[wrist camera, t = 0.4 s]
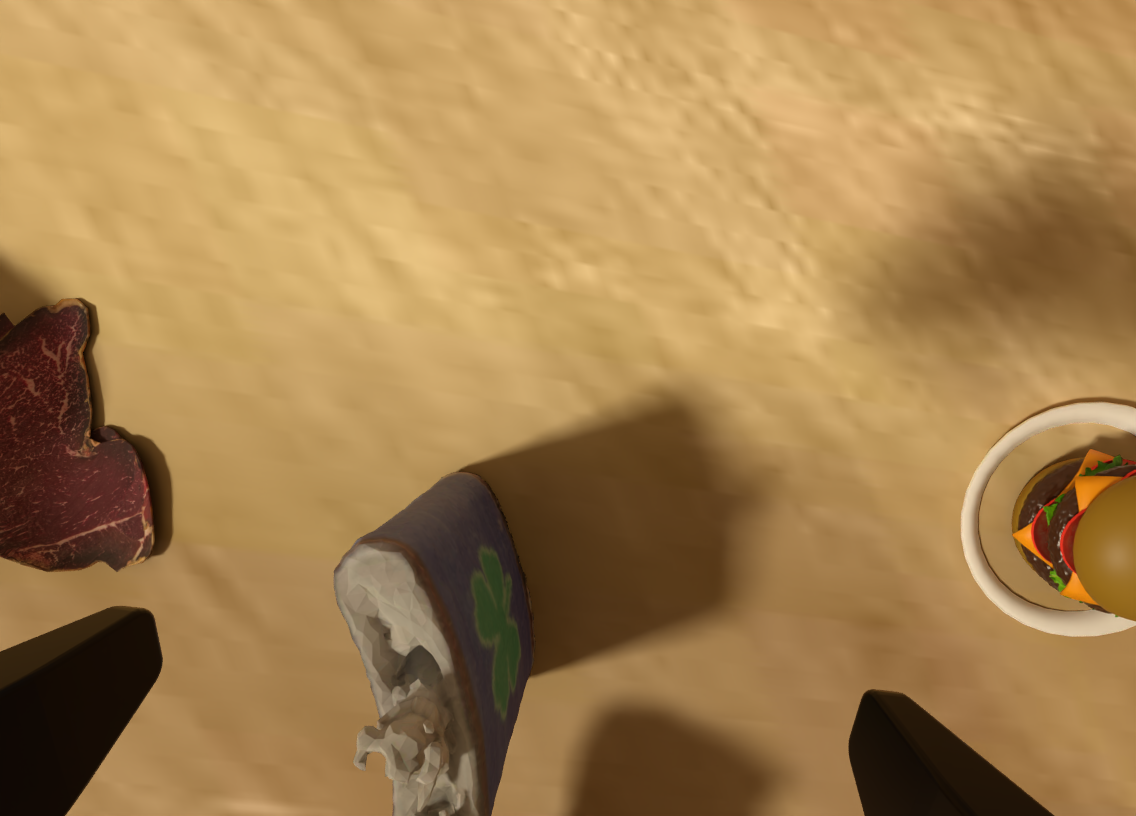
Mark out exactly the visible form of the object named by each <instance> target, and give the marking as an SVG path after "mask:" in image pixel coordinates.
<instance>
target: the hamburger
mask: <svg viewBox="0 0 1136 816" xmlns="http://www.w3.org/2000/svg"><path fill="white" fill-rule="evenodd" d="M1072 423H1098V424H1105V425H1111V426H1113V427H1116V428H1119V429H1122V430H1125V431H1128V432H1130V433H1131V434H1133V435H1135V436H1136V408H1134V407H1131V406H1128V405H1122V404H1116V403H1109V402H1081V403H1073V404H1069V405H1065V406H1060V407H1056V408H1052V409H1049V410H1047V411H1045V412H1042V413H1040V414H1038V415H1035V416H1033V417H1031V418H1029V419H1027V420H1026V421H1024V422H1023V423H1021V424H1019V425H1018V426H1016V427H1015V428H1013V429H1012V430H1010V431H1009V432H1007V433H1006V434H1005V435H1004V436H1003V437H1002V438H1001V439H1000V440H999V441H998V442H997V443H996V444H995V445H994V446H993V447H992V448H991V449H990V450H989V451H988V453H987V454H986V456H985V457H984V459H983V460H982V461H981V463H980V464H979V466H978V467H977V469H976V470H975V472H974V475H973V477H972V479H971V481H970V484H969V486H968V488H967V490H966V494H965V498H964V503H963V508H962V512H961V540H962V545H963V550H964V555H965V559H966V561H967V564H968V566H969V568H970V570H971V573H972V575H973V577H974V579H975V581H976V582H977V584H978V585H979V586H980V588H981V589H982V590H983V592H984V593H985V595H986V596H987V597H988V598H989V599H990V600H991V601H992V602H993V603H994V604H995V605H996V606H997V607H999V608H1000V609H1001V610H1002V611H1003V612H1004V613H1006V614H1007V615H1009V616H1011V617H1012V618H1014V619H1016V620H1017V621H1019V622H1021V623H1022V624H1024V625H1027V626H1029V627H1032V628H1035V629H1038V630H1040V631H1043V632H1046V633H1052V634H1058V635H1064V636H1099V635H1104V634H1109V633H1115V632H1120V631H1123V630H1125V629H1128V628H1131V627H1133V626H1136V462H1134V461H1130V460H1126V459H1122V458H1121V456H1120V455H1118V456H1116V457H1112V456H1110V455H1108V454H1105V453H1102V452H1099V451H1096V450H1092V449H1090V450H1089V452H1088V453H1087V455H1086V457H1082V458H1075V459H1069V460H1065V461H1062V462H1059V463H1056V464H1053V465H1052V466H1050V467H1048V468H1046V469H1044V470H1042V471H1041V472H1040V473H1038V474H1037V475H1036V476H1035V477H1033V478H1032V479H1031V480H1030V481H1029V483H1028V484H1027V485H1026V486H1025V487H1024V488H1023V490H1022V491H1021V493H1020V495H1019V497H1018V498H1017V501H1016V504H1015V507H1014V510H1013V516H1012V532H1013V534H1012V536H1013V537H1014V541H1015V544H1016V547H1017V548H1018V550H1019V552H1020V554H1021V555H1022V557H1023V559H1024V560H1025V561H1026V562H1027V563H1028V565H1029V566H1030V567H1031V568H1032V569H1033V570H1034V571H1035V572H1037V573H1038V575H1039V576H1040V577H1042V578H1043V579H1044V580H1045V581H1047V582H1048V583H1049V585H1050V586H1052V587H1053V588H1055V589H1056V590H1058V591H1059V592H1060V595H1063V596H1065V597H1067V598H1071V599H1075V600H1079V603H1085V604H1086V605H1088V606H1089V607H1091V608H1093V609H1092V610H1087V611H1059V610H1053V609H1047V608H1043V607H1040V606H1037V605H1035V604H1032V603H1029V602H1027V601H1025V600H1023V599H1022V598H1020V597H1018V596H1017V595H1015V594H1013V593H1012V592H1011V591H1010V590H1009V589H1008V588H1007V587H1006V586H1005V585H1003V584H1002V583H1001V582H1000V581H999V580H998V578H997V577H996V575H995V574H994V573H993V571H992V570H991V568H990V567H989V566H988V563H987V561H986V559H985V556H984V554H983V552H982V549H981V545H980V540H979V535H978V511H979V507H980V502H981V498H982V494H983V492H984V490H985V487H986V485H987V483H988V481H989V478H990V477H991V475H992V474H993V472H994V471H995V470H996V468H997V467H998V465H999V464H1000V462H1001V461H1002V460H1003V459H1004V458H1005V457H1006V456H1007V455H1008V454H1009V453H1010V452H1011V451H1012V450H1014V449H1015V448H1016V447H1017V446H1019V445H1020V444H1022V443H1023V442H1025V441H1026V440H1028V439H1029V438H1031V437H1032V436H1034V435H1036V434H1039V433H1041V432H1044V431H1046V430H1048V429H1051V428H1054V427H1058V426H1063V425H1067V424H1072Z"/></svg>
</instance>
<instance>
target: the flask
mask: <svg viewBox="0 0 1136 816" xmlns="http://www.w3.org/2000/svg"><path fill="white" fill-rule="evenodd" d="M500 507H501V506H500V504H499V502H498V499H497V498H496V497H495V494H494V493H493V492H492V490H491V488H490V486H488V484H487V483H486V481H483V480H482V478H481V477H480V476H478V475H475V474H472V473H468V472H455V473H450V474H448V475H446V476H444V477H442V478H441V479H440V480H439V481H438V482H437V483H436V484H435V485H434V486H433V487H431V488H430V489H429V490H428V491H426V492H425V493H423V494H422V495H420V496H419V497H418V498H416V499H415V500H414V501H413V502H412V503H411V504H409V505H408V506H407V507H406V508H405V509H404V510H402V511H401V512H399V513H398V514H397V515H395V516H394V517H393V518H391V519H390V520H389V521H387V522H386V523H385V524H383V525H382V526H380V527H379V528H378V529H376V530H375V531H373V532H370V533H368V534H366V535H365V536H363V537H361V538H359V539H357V541H356V542H355V543H354V545H353V546H352V548H351V549H350V550H349V551H348V552H347V553H346V554H345V555H344V556H343V557H342V559H341V561H340V563H339V564H338V566H337V567H336V568H335V570H334V590H335V595H336V600H337V604H338V607H339V609H340V611H341V613H342V615H343V617H344V618H345V620H346V622H347V624H348V626H349V630H350V633H351V636H352V639H353V641H354V643H355V644H356V646H357V648H358V649H359V651H360V654H361V658H362V660H363V663H364V666H365V668H366V674H367V677H368V679H369V681H370V682H371V690H372V692H373V695H374V697H375V701H376V705H377V709H378V713H379V717H380V719H379V720H378V721H377V729H376V728H375V727H373V726H365V727H364V728H363V729H362V730H361V731H360V732H359V733H358V737H357V752H356V755H355V758H354V761H353V763H354V764H355V766H356V767H358V768H359V769H360V770H364V771H366V769H365V767H366V760H367V754H369V753H371V752H373V751H374V752H379V753H381V754H382V755H383V756H384V757H385V758H386V766H385V777H386V776H388V777H389V779H393V816H491V814H492V810H493V806H494V800H495V796H496V793H497V789H498V786H499V783H500V780H501V776H502V771H503V766H504V761H505V757H506V753H507V749H508V746H509V741H510V739H511V736H512V733H513V729H514V725H515V722H516V720H517V716H518V712H519V707H520V703H521V700H522V697H523V692H524V689H525V686H526V682H527V680H528V677H529V675H530V672H531V668H532V665H533V662H534V658H533V654H534V651H535V639H534V637H535V635H534V629H533V628H534V627H533V623H534V622H533V620H534V617H533V613H531V603H532V602H531V600H530V592H529V591H528V588H527V584H526V583H527V581H526V577H525V574H524V572H523V571H522V568H521V565H520V563H519V556H518V554H517V552H516V549H515V545H514V543H513V540H512V535H511V533H509V529H508V525H507V521H506V520H505V516H504V514H503V512H502V511H501V508H500ZM378 729H379V730H378Z"/></svg>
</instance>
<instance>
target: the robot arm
mask: <svg viewBox="0 0 1136 816" xmlns="http://www.w3.org/2000/svg"><path fill="white" fill-rule="evenodd" d="M162 662H163V658H162V652H161V647H160V642H159V637H158V632H157V628H156V623H155V618H154V615H153V614H152V613H151V612H150V611H149V610H147V609H145V608H137V607H128V606H114V607H110V608H107V609H105V610H102V611H100V612H97V613H95V614H92V615H90V616H87V617H85V618H82V619H80V620H78V621H75V622H73V623H70V624H68V625H65V626H63V627H60V628H58V629H55V630H53V631H50V632H48V633H45V634H43V635H40V636H38V637H35V638H33V639H30V640H28V641H25V642H23V643H21V644H18V645H16V646H13V647H11V648H8V649H6V650H3V651H1V652H0V816H65V815H66V814H67V813H68V811H69V810H70V809H71V807H72V806H73V805H74V803H75V802H76V800H77V799H78V797H79V796H80V794H81V793H82V792H83V790H84V789H85V787H86V786H87V784H88V783H89V781H90V780H91V778H92V777H93V775H94V774H95V772H96V771H97V769H98V768H99V766H100V765H101V763H102V762H103V760H104V759H105V757H106V756H107V754H108V753H109V751H110V750H111V748H112V747H113V745H114V744H115V742H116V741H117V739H118V738H119V736H120V735H121V733H122V732H123V730H124V729H125V727H126V726H127V724H128V723H129V721H130V720H131V718H132V717H133V715H134V714H135V712H136V711H137V709H138V708H139V706H140V705H141V703H142V702H143V700H144V699H145V697H146V696H147V694H148V693H149V691H150V689H151V688H152V686H153V685H154V683H155V682H156V680H157V678H158V676H159V674H160V672H161V668H162ZM849 758H850V763H851V766H852V770H853V774H854V778H855V781H856V785H857V789H858V792H859V796H860V800H861V804H862V807H863V811H864V815H865V816H1054V815H1053V814H1052V813H1050V812H1049V811H1048V810H1047V809H1046V808H1044V807H1043V806H1042V805H1041V804H1039V803H1038V802H1037V801H1036V800H1035V799H1033V798H1032V797H1031V796H1030V795H1028V794H1027V793H1026V792H1025V791H1023V790H1022V789H1021V788H1020V787H1019V786H1017V785H1016V784H1015V783H1014V782H1012V781H1011V780H1010V779H1009V778H1008V777H1006V776H1005V775H1004V774H1003V773H1001V772H1000V771H999V770H998V769H996V768H995V767H994V766H993V765H992V764H990V763H989V762H988V761H987V760H985V759H984V758H983V757H982V756H981V755H979V754H978V753H977V752H976V751H974V750H973V749H972V748H971V747H969V746H968V745H967V744H966V743H965V742H963V741H962V740H961V739H960V738H958V737H957V736H956V735H955V734H954V733H952V732H951V731H950V730H949V729H947V728H946V727H945V726H944V725H942V724H941V723H940V722H939V721H938V720H936V719H935V718H934V717H933V716H931V715H930V714H929V713H928V712H927V711H925V710H924V709H923V708H922V707H920V706H919V705H918V704H917V703H915V702H914V701H913V700H912V699H911V698H909V697H908V696H906V695H905V694H903V693H899V692H893V691H884V690H875V689H871V690H868V691H866V692H865V693H864V694H863V696H862V699H861V702H860V705H859V708H858V711H857V715H856V718H855V721H854V724H853V728H852V731H851V734H850V738H849Z"/></svg>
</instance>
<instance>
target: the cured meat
mask: <svg viewBox="0 0 1136 816" xmlns="http://www.w3.org/2000/svg"><path fill="white" fill-rule="evenodd" d="M89 336H90V322H89V314H88V307H86V306H85V305H84V304H83V303H82V302H81V301H80V300H79V299H62V300H60V301H59V302H58V303H57V304H56V305H52V306H44V307H41V308H39V309H37V310H35V311H34V312H33V313H31V314H30V315H29V316H27V317H26V318H25V319H24V320H22V321H21V322H20V323H19V324H17V325H16V326H14V325H13V324H12V323H11V322H10V320H9V319H8V318H7V316H6V315H5V313H2V314H1V315H0V557H2V558H5V559H8V560H10V561H13V562H16V563H18V564H21V565H25V566H28V567H32V568H36V569H39V570H43V571H46V572H61V571H75V570H82V569H85V568H87V567H90V566H92V565H94V564H95V563H97V562H104V563H106V564H107V565H109V566H110V567H111V568H113V569H114V570H115V571H117V572H118V571H120V570H122V569H124V568H126V567H128V566H131V565H135V564H139V563H143V562H144V561H145V560H146V559H147V558H148V556H149V555H150V554H151V552H152V549H153V545H154V541H155V539H154V523H153V511H152V502H151V497H150V490H149V486H148V481H147V478H146V475H145V471H144V468H143V463H142V461H141V459H140V457H139V455H138V454H137V452H136V450H135V448H134V446H133V445H132V444H131V443H129V442H128V441H126V440H125V439H122V438H121V437H120V435H119V434H118V433H117V431H116V430H114V429H112V428H110V427H108V426H103V427H99V428H97V429H94V430H92V431H91V423H92V403H91V395H90V387H89V379H88V374H87V370H86V366H85V361H84V357H83V351H84V349H85V347H86V344H87V341H88V338H89Z"/></svg>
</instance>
